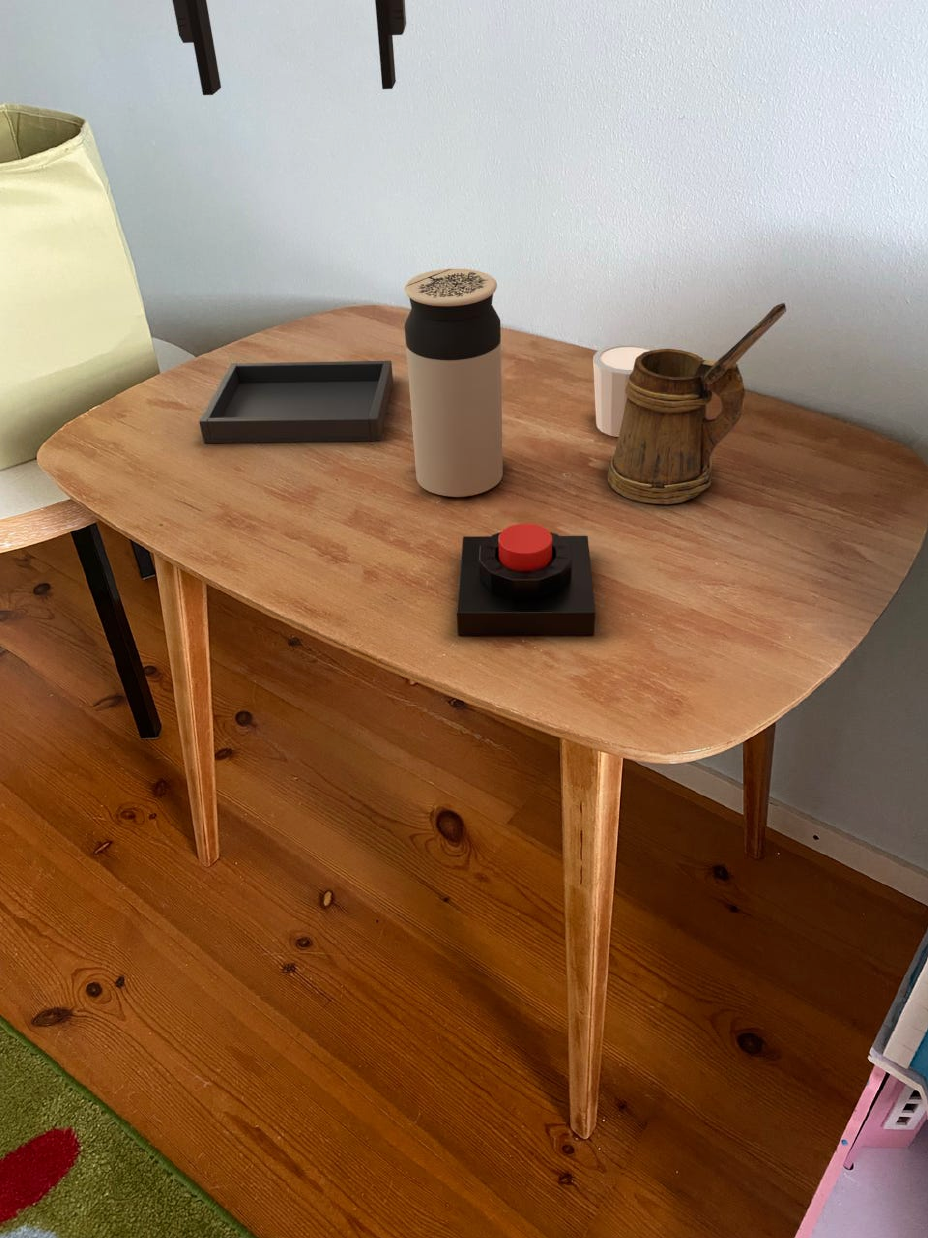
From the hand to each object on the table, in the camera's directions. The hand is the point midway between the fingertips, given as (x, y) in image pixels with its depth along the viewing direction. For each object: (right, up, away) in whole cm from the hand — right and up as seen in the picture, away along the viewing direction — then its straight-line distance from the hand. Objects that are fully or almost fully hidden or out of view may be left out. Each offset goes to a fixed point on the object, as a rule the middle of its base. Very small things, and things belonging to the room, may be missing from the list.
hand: (300, 88), depth 75 cm
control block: (+17, -38, +2) cm, 42 cm away
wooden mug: (+32, -29, +13) cm, 45 cm away
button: (+17, -36, -1) cm, 40 cm away
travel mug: (+12, -27, +16) cm, 34 cm away
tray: (-4, -19, +28) cm, 34 cm away
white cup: (+28, -21, +23) cm, 42 cm away
